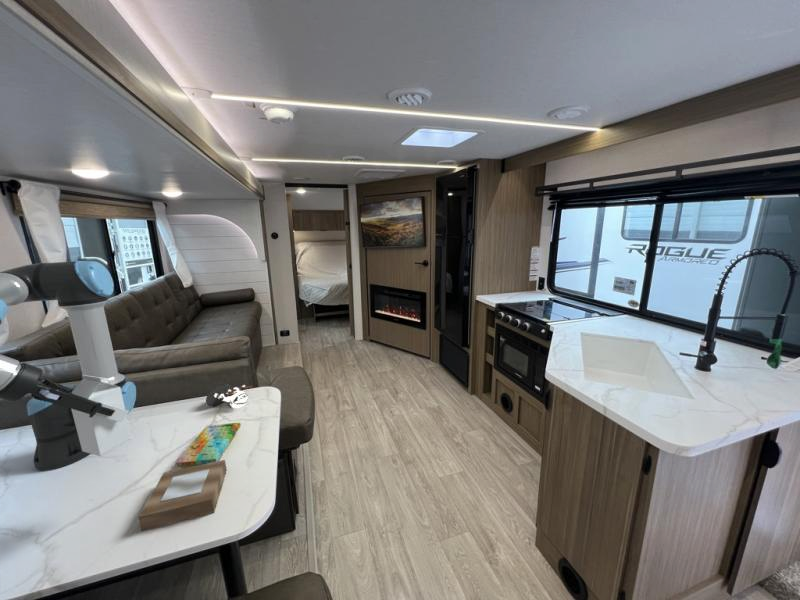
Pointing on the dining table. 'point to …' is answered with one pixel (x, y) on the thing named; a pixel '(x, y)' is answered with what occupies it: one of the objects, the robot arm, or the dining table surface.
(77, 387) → the milk carton
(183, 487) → the walnut riser
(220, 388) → the figurine
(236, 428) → the puzzle game
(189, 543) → the dining table surface
